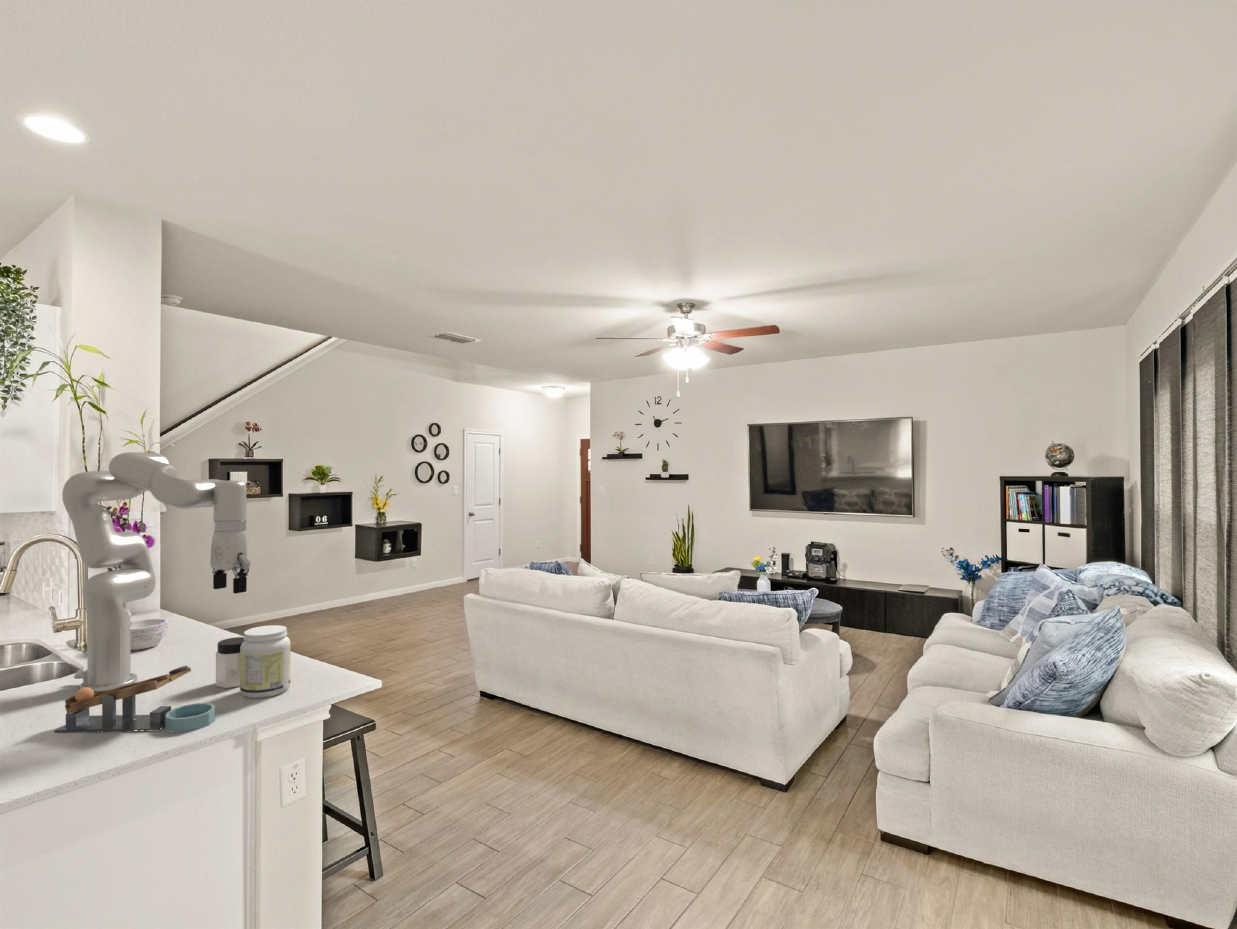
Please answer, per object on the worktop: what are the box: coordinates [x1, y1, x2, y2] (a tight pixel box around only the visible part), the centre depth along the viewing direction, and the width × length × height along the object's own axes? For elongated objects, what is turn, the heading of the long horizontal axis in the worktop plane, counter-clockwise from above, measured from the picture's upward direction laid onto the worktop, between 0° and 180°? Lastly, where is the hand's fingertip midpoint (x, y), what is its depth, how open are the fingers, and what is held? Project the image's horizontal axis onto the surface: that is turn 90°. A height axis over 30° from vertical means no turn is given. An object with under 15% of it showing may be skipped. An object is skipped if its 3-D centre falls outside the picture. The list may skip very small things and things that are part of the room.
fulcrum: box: [54, 695, 172, 734], centre depth 154 cm, size 23×8×8 cm, turn 93°
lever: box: [64, 665, 192, 714], centre depth 158 cm, size 22×13×3 cm, turn 93°
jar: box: [215, 636, 245, 689], centre depth 182 cm, size 9×8×12 cm
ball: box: [74, 687, 95, 701], centre depth 153 cm, size 4×4×4 cm
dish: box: [165, 702, 216, 733], centre depth 155 cm, size 10×10×3 cm
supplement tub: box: [239, 624, 292, 699], centre depth 176 cm, size 12×12×17 cm
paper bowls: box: [130, 618, 169, 651], centre depth 217 cm, size 15×15×8 cm
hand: (229, 590), depth 172 cm, fingers open, 9 cm apart
